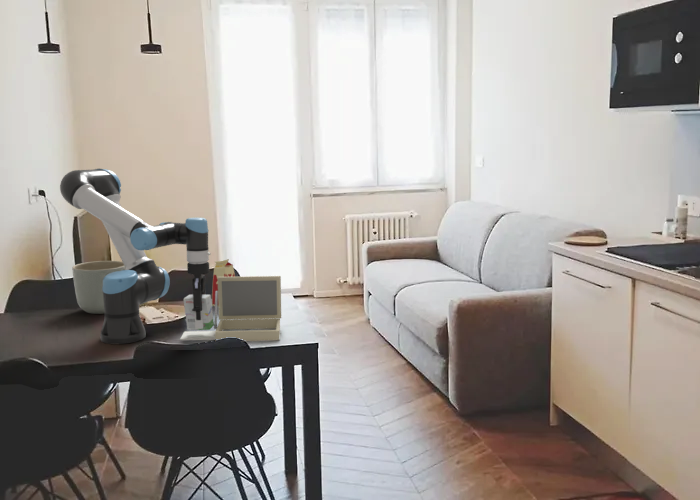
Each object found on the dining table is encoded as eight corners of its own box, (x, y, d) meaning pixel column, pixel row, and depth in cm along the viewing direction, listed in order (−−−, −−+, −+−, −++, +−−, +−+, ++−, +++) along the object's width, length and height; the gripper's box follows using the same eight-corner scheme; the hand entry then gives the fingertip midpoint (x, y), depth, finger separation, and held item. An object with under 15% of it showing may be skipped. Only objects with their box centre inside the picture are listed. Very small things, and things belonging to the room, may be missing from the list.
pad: (180, 340, 234) (180, 338, 234) (184, 333, 243) (184, 331, 243) (217, 339, 235) (217, 337, 235) (220, 332, 244) (220, 330, 244)
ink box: (187, 330, 237) (182, 298, 234) (192, 324, 242) (188, 293, 238) (210, 330, 235) (205, 298, 232) (215, 324, 240) (210, 293, 237)
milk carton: (240, 304, 286) (239, 258, 283) (225, 308, 278) (224, 261, 275) (224, 301, 291) (223, 256, 287) (209, 305, 283) (207, 259, 280)
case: (211, 341, 232) (209, 286, 229) (217, 328, 249) (215, 276, 246) (280, 340, 234) (279, 285, 231) (281, 326, 251) (280, 275, 248)
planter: (98, 320, 260) (95, 272, 257) (64, 312, 271) (61, 266, 268) (140, 308, 278) (137, 263, 275) (107, 302, 289) (104, 259, 285)
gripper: (205, 266, 225) (207, 333, 229) (212, 257, 244) (214, 318, 248) (182, 267, 224) (185, 333, 228) (191, 257, 243) (193, 319, 247)
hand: (200, 325), depth 238 cm, fingers closed on ink box, 6 cm apart
